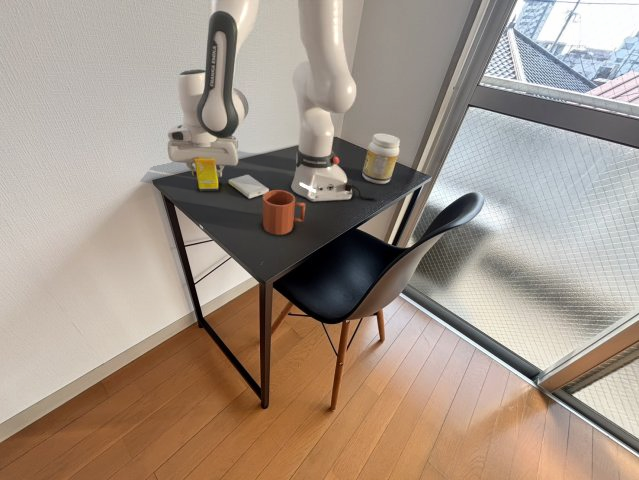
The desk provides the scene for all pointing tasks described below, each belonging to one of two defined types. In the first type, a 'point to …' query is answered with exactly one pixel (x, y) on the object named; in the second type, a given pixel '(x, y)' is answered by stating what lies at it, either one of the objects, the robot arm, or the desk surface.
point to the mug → (280, 212)
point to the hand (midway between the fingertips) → (207, 175)
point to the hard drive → (248, 186)
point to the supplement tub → (381, 158)
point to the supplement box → (206, 174)
